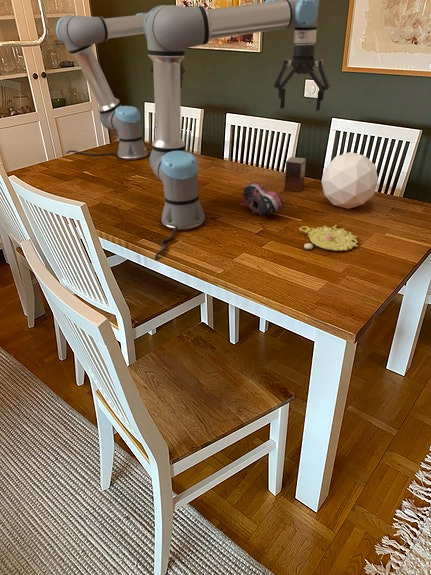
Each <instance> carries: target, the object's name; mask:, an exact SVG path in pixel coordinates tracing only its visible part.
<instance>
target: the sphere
mask: <svg viewBox="0 0 431 575" xmlns="http://www.w3.org/2000/svg"><path fill="white" fill-rule="evenodd" d="M378 181H379V178H378V172H377V166H376V164H375V163H373V161H372V160H370V159H369V158H368V157H367V156H366V155H364V154H360V153H356V152H352V151H349V152H345V153H342V154H340V155H336V156H335V157H333V159H332V160H331V161H330V162H329V163H328V164H327V165H326V166H325V168H324V170H323V174H322V178H321V181H320V182H321V185H322V186H321V187H322V191H323V195H324V196H325V198H327V200H329V202H330V203H331V204H332V205H333V206H336V207H340V208H343V209H347V210H349V209H352V208H353V209H354V208H356V207H359V206H363V205H364V204H365V203H366V202H367V201H369V200H370V199H371V198H372V197H373V196H374V195H375V192H376V188H377V184H378Z"/></svg>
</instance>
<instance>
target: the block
mask: <svg viewBox="0 0 431 575" xmlns="http://www.w3.org/2000/svg"><path fill="white" fill-rule="evenodd" d="M306 161H307V158H305V157H296V156H290V157H289V158H288V159H286V161H285V174H284V191H287V192H288V191H289V192H296V193H300V192H301V191H302V190H303V189H304V187H305V185H304V184H305V173H306V163H307V162H306Z"/></svg>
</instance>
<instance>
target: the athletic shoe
mask: <svg viewBox="0 0 431 575" xmlns="http://www.w3.org/2000/svg"><path fill="white" fill-rule="evenodd" d="M241 197H242V199H243V201H238V203H239V204H241V205H245V206H246V207H247V208H248V210H249V211H250V210H251V213H252V214H255V215H260V217H266V216H267V215H270V214H274V213H275V212H279V211H282V210H283V209H284V205H283V201H282V198H281V196H280V195H279V194H278V192H277V191H274V190H269V191H267V190H266V189H265V187H264V186H263V185H262V184H261V183H258V182H251V183H249V184H247V186H246V187H245V188H244V190H243V191H242V192H241Z"/></svg>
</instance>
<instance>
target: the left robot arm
mask: <svg viewBox="0 0 431 575" xmlns="http://www.w3.org/2000/svg"><path fill="white" fill-rule="evenodd" d="M148 13H149V12H138V13H136V14H135V15H127V16H126V15H125V16H117V17H109V18H108V17H107V18H104V17H103V16H86V15H71V14H67V15H65V16H62V17H60V18H59V20H58V21H57V23H56V26H55V32H56V36H57V39H58V40H59V41H60V42H61V43H62V44H63V45H65V47H66V49H67V51H68V53H69V54H70V55H71V56H74V57H75V59H76V61H77V64H78V65H79V67H80V69H81V71H82V74H83V75H84V78H85V80H86V82H87V84H88V86H89V88H90V90H91V92H92V94H93V96H94V98H95V100H96V102H97V104H98V107H97V111H98V113H99V115H98V118H99V119H98V120H99V122H100V123H101V125H102V126H103V127H104V128H106V129H107V130H109V131H112V132H116V133H117V135H118V141H119V142H118V150H117V151H116V152H103V153H88V152H84V151H79V150H78V151H77V150H72V149H71V150H67V152H66V153H65V155H68V154H70V153H76V154H80V155H85V156H106V155H107V156H108V155H110V156H111V155H117V158H118V159H119V160H123V161H138V160H143V159H146V158H147V157H148V156H149V152H148V148H147V147H146V144H145V142H144V140H143V139H144V138H143V131H142V122H141V119H142V118H141V113H140V110H139V109H138V108H137V107H135V106H132V105H122V104H121V102H120V99H119V98H116V97H115V96H114V94H113V91H112V89H111V87H110V85H109V83H108V81H107V79H106V76H105V74H104V72H103V70H102V67H101V66H100V64H99V61H98V59H97V57H96V55H95V53H94V51H93V50H94V49H93V46H94V45H95V44H101V43H106V42H107V41H108V40H109V39H114V38H122V37H130V36H137V35H145V34H144V20H145V18H146V16H147V14H148ZM150 73H152V74H154V71H153V63H152V64H151V67H150ZM186 73H187V72H186V69H185V67H184V64H183V62H182V61H181V62H180V89H182V88H183V84H182V82H183V81H184V78H183V75H184V74H186Z"/></svg>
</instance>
